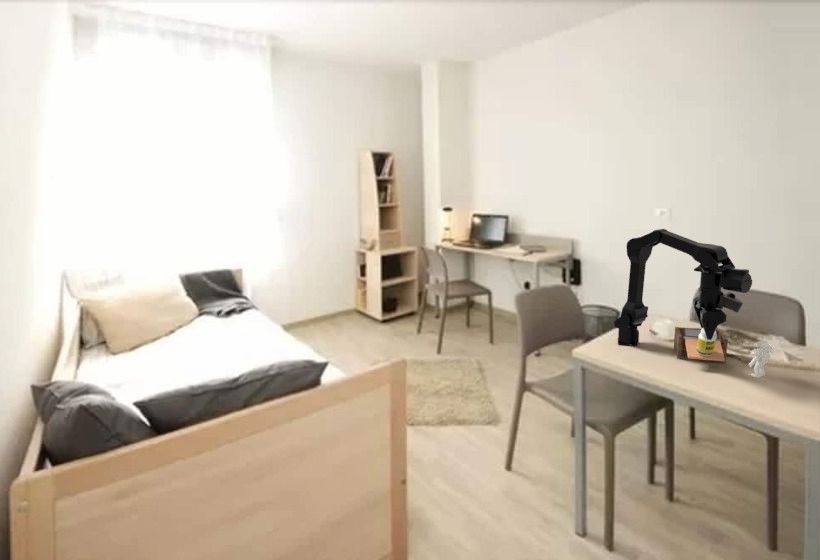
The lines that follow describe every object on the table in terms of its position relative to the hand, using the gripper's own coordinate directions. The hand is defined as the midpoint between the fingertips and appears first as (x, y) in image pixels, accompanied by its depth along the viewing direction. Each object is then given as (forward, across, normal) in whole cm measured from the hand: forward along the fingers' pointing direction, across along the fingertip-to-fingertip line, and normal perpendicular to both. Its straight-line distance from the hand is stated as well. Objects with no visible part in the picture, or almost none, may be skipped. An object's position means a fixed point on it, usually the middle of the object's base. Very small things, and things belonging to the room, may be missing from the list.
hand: (706, 334), depth 154 cm
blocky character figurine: (+11, -3, -14) cm, 18 cm away
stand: (+11, +10, 0) cm, 15 cm away
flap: (+8, +5, 0) cm, 10 cm away
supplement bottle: (+6, 0, 0) cm, 6 cm away
